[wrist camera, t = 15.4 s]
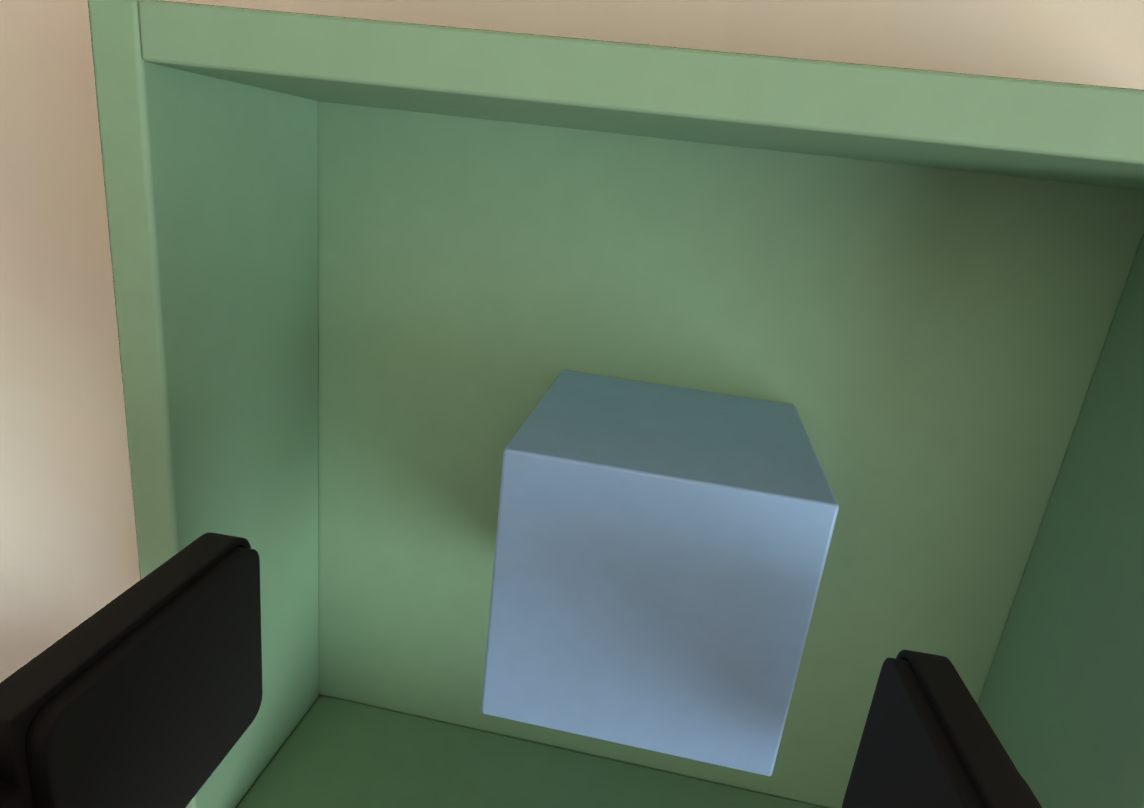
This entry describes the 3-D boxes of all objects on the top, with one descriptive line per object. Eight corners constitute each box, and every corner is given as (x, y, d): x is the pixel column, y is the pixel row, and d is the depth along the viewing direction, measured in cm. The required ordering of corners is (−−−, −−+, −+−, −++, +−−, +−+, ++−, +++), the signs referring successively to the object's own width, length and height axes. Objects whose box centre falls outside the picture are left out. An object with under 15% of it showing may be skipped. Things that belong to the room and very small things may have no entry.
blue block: (540, 568, 17) (479, 714, 12) (562, 368, 15) (502, 448, 11) (751, 608, 16) (772, 778, 12) (795, 404, 15) (840, 505, 10)
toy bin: (304, 696, 20) (165, 875, 15) (298, 60, 15) (83, -8, 10) (949, 840, 18) (1053, 1112, 13) (1201, 150, 13) (1550, 126, 8)
